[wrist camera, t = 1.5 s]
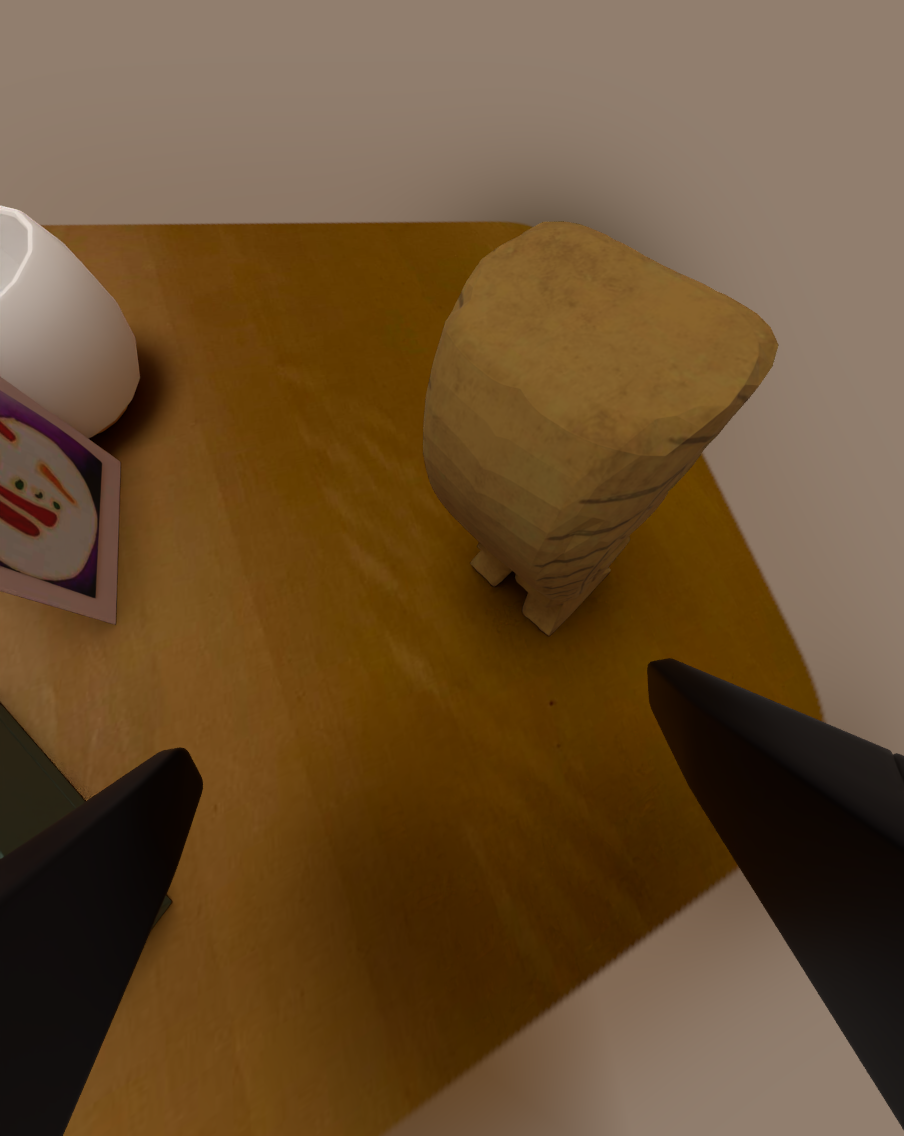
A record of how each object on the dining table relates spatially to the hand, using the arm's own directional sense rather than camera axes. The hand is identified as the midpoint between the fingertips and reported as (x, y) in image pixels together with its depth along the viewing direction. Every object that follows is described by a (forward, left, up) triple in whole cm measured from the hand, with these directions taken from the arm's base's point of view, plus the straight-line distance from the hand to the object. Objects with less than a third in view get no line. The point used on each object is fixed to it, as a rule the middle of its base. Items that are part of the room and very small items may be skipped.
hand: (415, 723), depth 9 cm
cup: (+34, -8, -14) cm, 37 cm away
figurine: (+1, -8, -14) cm, 16 cm away
